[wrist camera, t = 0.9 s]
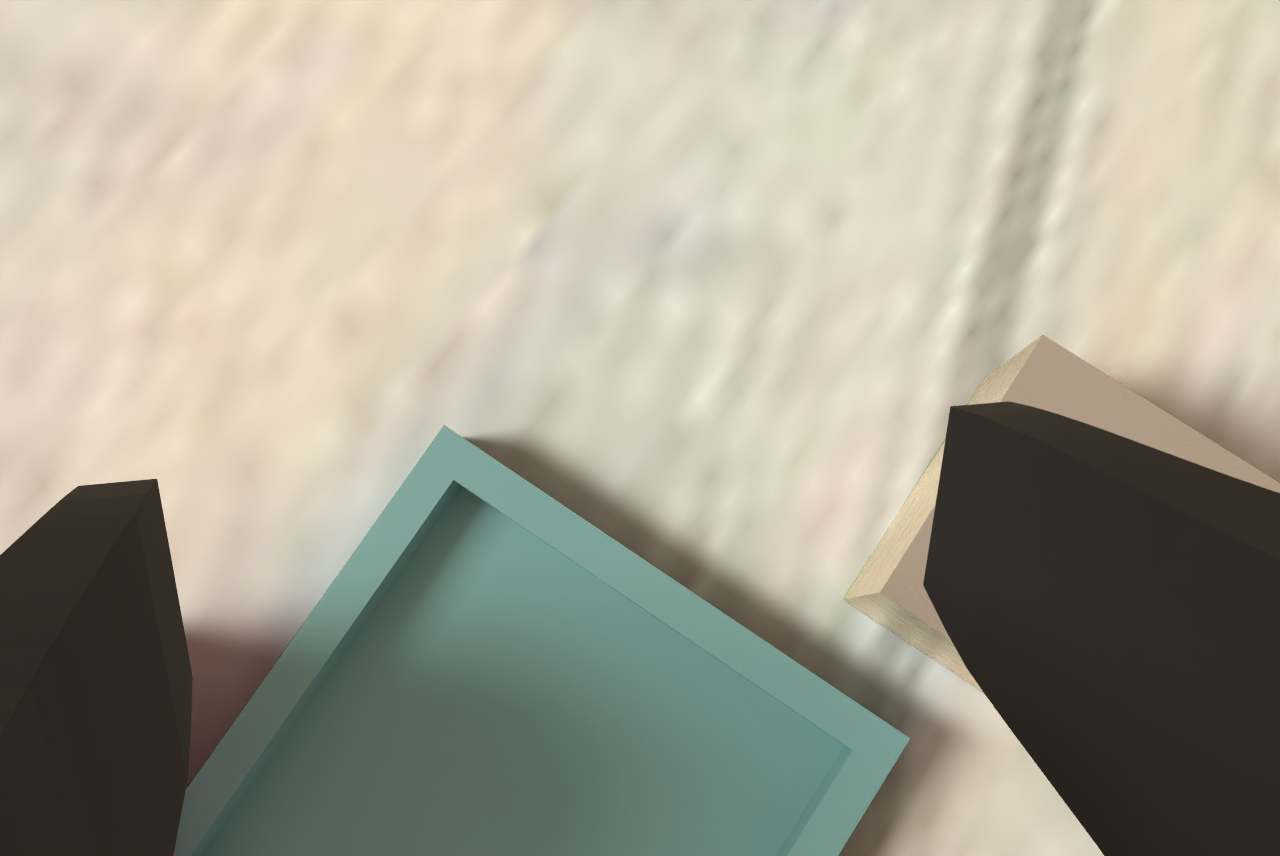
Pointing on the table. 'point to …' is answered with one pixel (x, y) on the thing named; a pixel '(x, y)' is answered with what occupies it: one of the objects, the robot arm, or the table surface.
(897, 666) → the table surface
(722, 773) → the tray
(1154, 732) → the robot arm
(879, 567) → the hollow square block
